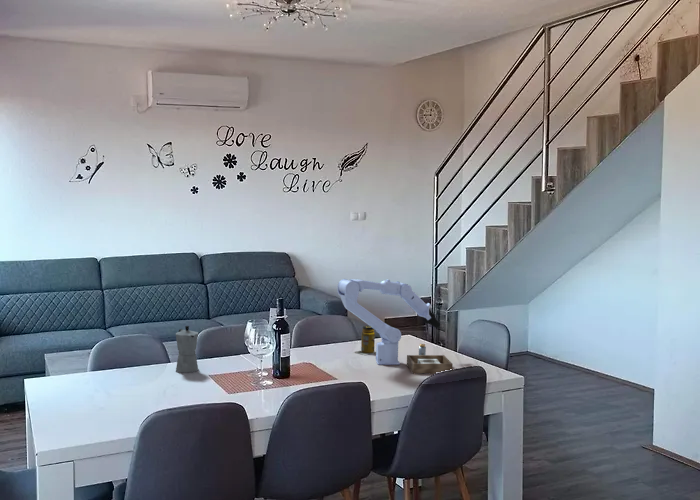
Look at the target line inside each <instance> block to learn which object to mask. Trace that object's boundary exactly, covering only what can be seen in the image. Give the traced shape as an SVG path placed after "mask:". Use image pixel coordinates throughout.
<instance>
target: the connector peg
mask: <svg viewBox="0 0 700 500" xmlns="http://www.w3.org/2000/svg"><path fill="white" fill-rule="evenodd" d="M426 352H427V346H426V343H419V346H418V355H427V353H426Z"/></svg>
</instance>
